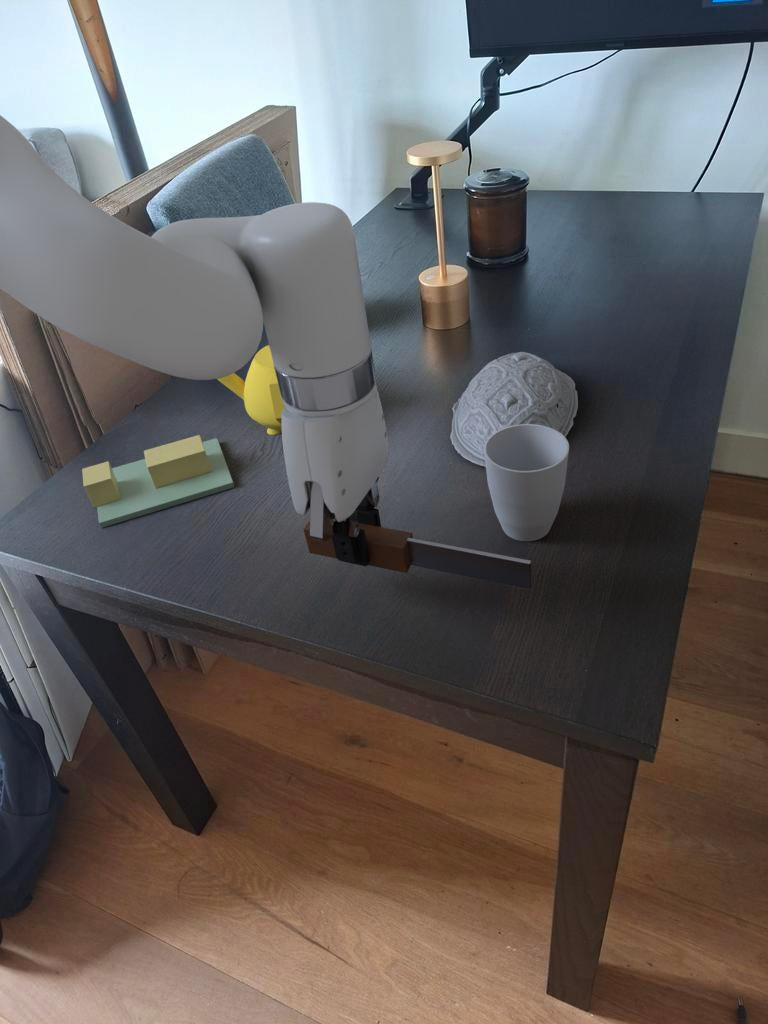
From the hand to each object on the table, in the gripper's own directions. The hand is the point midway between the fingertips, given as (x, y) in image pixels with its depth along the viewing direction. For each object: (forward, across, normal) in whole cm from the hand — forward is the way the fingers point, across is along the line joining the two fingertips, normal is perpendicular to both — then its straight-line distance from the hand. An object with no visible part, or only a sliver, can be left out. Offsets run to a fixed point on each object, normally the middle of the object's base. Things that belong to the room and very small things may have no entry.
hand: (360, 549), depth 70 cm
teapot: (+7, -28, -24) cm, 37 cm away
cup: (+7, -15, +12) cm, 20 cm away
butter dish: (+6, -10, -33) cm, 35 cm away
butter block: (+6, -12, -31) cm, 34 cm away
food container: (+7, -35, +4) cm, 36 cm away
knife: (+1, 0, +5) cm, 5 cm away
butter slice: (+5, -6, -38) cm, 39 cm away
